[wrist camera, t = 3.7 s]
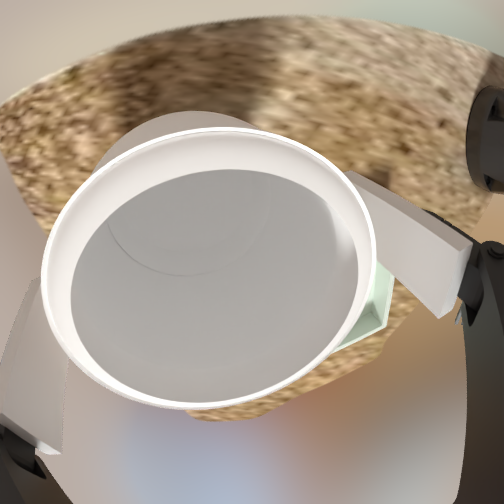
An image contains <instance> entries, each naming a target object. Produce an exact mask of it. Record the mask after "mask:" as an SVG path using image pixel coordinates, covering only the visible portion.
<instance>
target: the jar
mask: <svg viewBox="0 0 504 504" xmlns="http://www.w3.org/2000/svg"><path fill="white" fill-rule="evenodd" d="M375 267H376V241H375V234H374V229H373V225H372V221H371V218H370V215H369V213H368V210H367V208H366V206H365V204H364V202H363V200H362V198H361V196H360V195H359V193H358V192H357V190H356V189H355V187H354V186H353V184H352V183H351V182H350V181H349V180H348V178H347V177H346V176H345V175H344V174H343V173H342V172H341V171H340V170H339V169H338V168H337V167H336V166H335V165H333V164H332V163H331V162H330V161H328V160H327V159H326V158H324V157H323V156H321V155H320V154H318V153H317V152H315V151H313V150H312V149H310V148H308V147H306V146H304V145H302V144H300V143H298V142H296V141H293V140H291V139H288V138H285V137H283V136H280V135H277V134H274V133H271V132H268V131H264V130H261V129H259V128H257V127H255V126H253V125H251V124H249V123H247V122H245V121H243V120H240V119H237V118H235V117H231V116H228V115H224V114H220V113H215V112H207V111H183V112H176V113H171V114H167V115H163V116H160V117H157V118H154V119H152V120H149V121H147V122H145V123H143V124H141V125H139V126H137V127H136V128H134V129H133V130H131V131H130V132H128V133H127V134H125V135H124V136H123V137H122V138H120V139H119V140H118V141H117V142H116V143H115V144H114V145H113V146H112V147H111V148H110V149H109V150H108V151H107V152H106V154H105V155H104V156H103V157H102V159H101V160H100V161H99V163H98V164H97V166H96V167H95V169H94V171H93V172H92V174H91V176H90V177H89V178H88V179H87V181H85V182H84V183H83V184H82V186H81V187H80V188H79V189H78V190H77V191H76V192H75V193H74V195H73V196H72V197H71V198H70V200H69V201H68V202H67V204H66V205H65V207H64V208H63V210H62V211H61V213H60V215H59V216H58V218H57V220H56V222H55V224H54V226H53V228H52V230H51V233H50V235H49V238H48V241H47V244H46V248H45V251H44V256H43V261H42V269H41V293H42V300H43V305H44V310H45V313H46V317H47V320H48V322H49V325H50V327H51V330H52V332H53V334H54V336H55V338H56V339H57V341H58V343H59V344H60V346H61V347H62V349H63V350H64V352H65V353H66V354H67V355H68V357H69V358H70V359H71V360H72V361H73V362H74V363H75V364H76V365H77V366H78V367H79V368H80V369H81V370H82V371H83V372H84V373H85V374H87V375H88V376H89V377H90V378H92V379H93V380H94V381H96V382H97V383H99V384H100V385H102V386H104V387H105V388H107V389H109V390H111V391H112V392H114V393H117V394H119V395H121V396H123V397H126V398H128V399H131V400H134V401H137V402H140V403H144V404H148V405H152V406H156V407H162V408H170V409H181V410H203V409H214V408H222V407H228V406H233V405H237V404H241V403H245V402H249V401H252V400H255V399H258V398H261V397H263V396H266V395H268V394H271V393H273V392H275V391H278V390H280V389H282V388H284V387H286V386H287V385H289V384H291V383H293V382H295V381H296V380H298V379H299V378H301V377H303V376H304V375H306V374H307V373H308V372H310V371H311V370H312V369H314V368H315V367H316V366H318V365H319V364H320V363H321V362H322V361H324V360H325V359H326V358H327V357H328V356H329V355H330V354H331V353H332V352H333V351H334V350H335V349H336V348H337V347H338V346H339V345H340V343H341V342H342V341H343V340H344V339H345V337H346V336H347V335H348V333H349V332H350V331H351V329H352V328H353V326H354V325H355V323H356V321H357V320H358V318H359V316H360V314H361V312H362V310H363V308H364V306H365V304H366V302H367V299H368V297H369V294H370V291H371V287H372V284H373V279H374V274H375Z"/></svg>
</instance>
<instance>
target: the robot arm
mask: <svg viewBox="0 0 504 504" xmlns="http://www.w3.org/2000/svg"><path fill="white" fill-rule="evenodd" d="M466 152H467V164H468V169H469V173H470V176H471V178H472V180H473V182H474V183H475V184H476V185H477V186H479V187H481V188H483V189H484V190H486V191H488V192H491V193H497V194H504V89H501V88H497V87H493V86H489V87H486V88H484V89H483V90H482V91H481V92H480V94H479V95H478V97H477V99H476V101H475V103H474V105H473V108H472V111H471V115H470V119H469V124H468V131H467V145H466ZM343 174H344V175H345V176H346V177H347V178H348V180H349V181H350V182H351V183H352V184H353V186H354V187H355V189H356V190H357V192H358V193H359V195H360V196H361V198H362V200H363V202H364V204H365V206H366V208H367V210H368V213H369V215H370V218H371V221H372V225H373V229H374V234H375V241H376V260H377V261H378V262H379V263H380V264H381V265H382V266H384V267H385V268H386V269H387V270H388V271H389V272H390V273H391V274H392V275H393V276H395V277H396V278H397V279H398V280H399V281H400V282H401V283H402V284H403V285H404V286H405V287H406V288H407V289H408V290H410V291H411V292H412V293H413V294H414V295H415V296H416V297H417V298H418V299H419V300H420V301H421V302H422V303H423V304H424V305H425V306H426V307H427V308H428V309H429V310H430V311H431V312H432V313H433V314H434V315H435V316H436V317H437V318H438V319H439V318H441V317H442V316H444V315H445V314H446V313H448V312H449V311H451V310H452V309H453V307H454V304H455V301H456V298H457V296H458V297H459V298H460V299H461V300H462V304H461V307H460V309H459V312H458V314H457V317H456V319H455V324H458V322H459V319H460V317H461V316H462V323H461V325H463V331H464V340H465V352H466V369H467V423H466V437H465V449H464V459H463V467H462V473H461V479H460V485H459V490H458V495H457V498H456V500H455V502H454V503H453V504H504V245H502V244H501V243H499V242H495V241H486V242H483V243H482V244H480V243H479V242H477V241H476V240H475V239H473V238H472V237H470V236H469V235H467V234H466V233H464V232H463V231H461V230H460V229H458V228H457V227H455V226H452V224H451V223H449V222H448V221H446V220H445V221H444V219H443V218H441V217H440V216H438V215H437V214H435V213H433V212H430V211H427V210H424V209H420V208H419V207H417V206H415V205H414V204H412V203H410V202H409V201H407V200H405V199H404V198H402V197H400V196H398V195H397V194H395V193H393V192H391V191H390V190H388V189H386V188H384V187H382V186H380V185H379V184H377V183H375V182H373V181H371V180H369V179H367V178H365V177H363V176H362V175H360V174H358V173H356V172H354V171H352V170H350V171H347V172H343ZM68 362H69V357H68V355H67V354H66V353H65V352H64V350H63V349H62V347H61V346H60V344H59V343H58V341H57V339H56V338H55V336H54V334H53V332H52V330H51V327H50V325H49V322H48V320H47V317H46V313H45V310H44V305H43V300H42V293H41V277H38V278H36V279H34V280H32V281H31V283H30V285H29V288H28V290H27V292H26V294H25V297H24V299H23V301H22V304H21V306H20V309H19V311H18V314H17V316H16V319H15V321H14V324H13V327H12V330H11V333H10V335H9V338H8V341H7V344H6V347H5V351H4V353H3V357H2V360H1V363H0V504H73V503H72V502H71V501H70V499H69V498H68V497H67V495H66V494H65V493H64V491H63V490H62V489H61V487H60V486H59V484H58V483H57V482H56V480H55V479H54V477H53V476H52V474H51V473H50V472H49V470H48V469H47V467H46V466H45V464H44V462H43V461H42V460H41V459H40V457H39V456H37V455H35V448H37V449H38V450H40V451H42V452H44V453H45V454H48V455H49V454H62V430H63V410H64V397H65V386H66V377H67V369H68Z"/></svg>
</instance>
